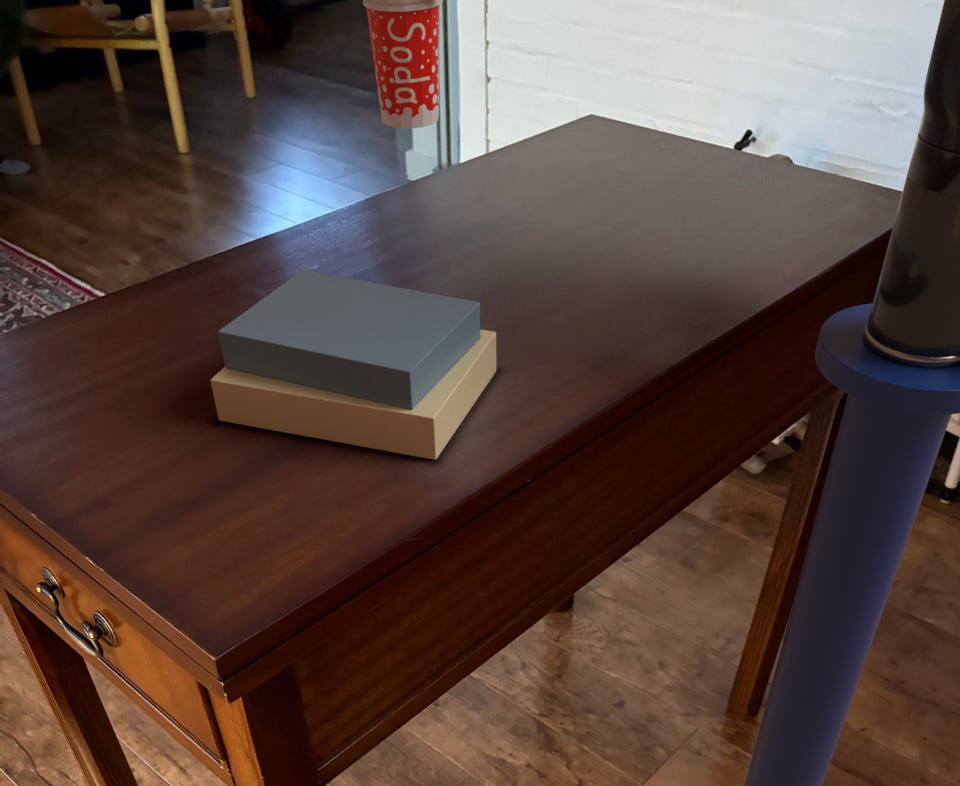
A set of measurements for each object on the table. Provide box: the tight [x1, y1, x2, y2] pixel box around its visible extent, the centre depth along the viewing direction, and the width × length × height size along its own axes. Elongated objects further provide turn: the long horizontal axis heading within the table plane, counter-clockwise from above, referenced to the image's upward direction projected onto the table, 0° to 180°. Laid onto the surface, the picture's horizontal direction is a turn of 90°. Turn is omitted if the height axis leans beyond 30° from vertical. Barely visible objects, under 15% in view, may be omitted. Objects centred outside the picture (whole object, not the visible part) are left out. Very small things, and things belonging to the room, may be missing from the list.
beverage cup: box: [362, 0, 444, 129], centre depth 77 cm, size 6×6×14 cm
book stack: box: [209, 269, 497, 461], centre depth 78 cm, size 18×14×6 cm
